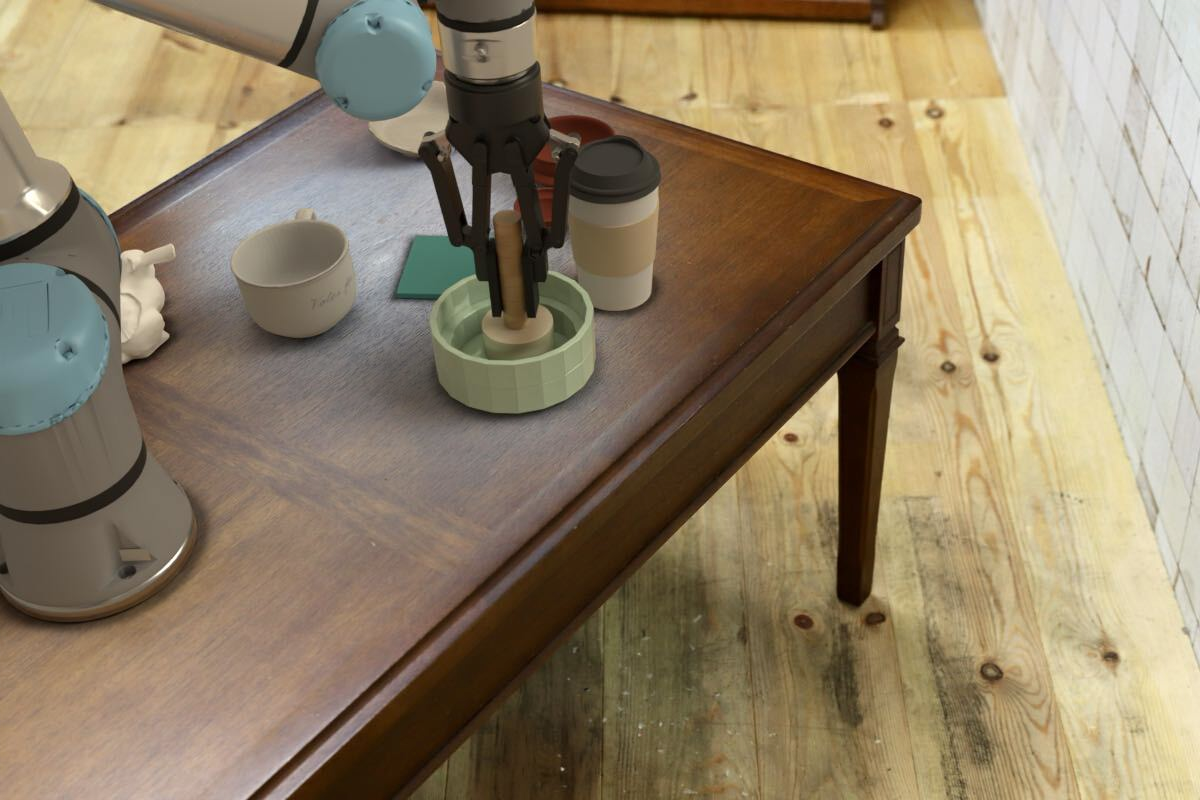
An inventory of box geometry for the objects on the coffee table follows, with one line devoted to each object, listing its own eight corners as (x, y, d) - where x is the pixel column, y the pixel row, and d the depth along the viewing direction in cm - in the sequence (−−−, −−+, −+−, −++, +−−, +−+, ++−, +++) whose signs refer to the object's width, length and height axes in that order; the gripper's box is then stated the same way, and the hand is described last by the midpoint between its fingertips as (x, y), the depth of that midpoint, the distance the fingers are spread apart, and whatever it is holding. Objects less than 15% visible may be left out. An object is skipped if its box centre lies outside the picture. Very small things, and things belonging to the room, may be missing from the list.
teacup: (339, 359, 126) (324, 287, 121) (228, 347, 128) (209, 277, 122) (387, 272, 136) (375, 202, 131) (284, 262, 138) (268, 194, 133)
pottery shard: (377, 176, 150) (370, 135, 147) (361, 129, 158) (354, 89, 155) (470, 158, 152) (465, 117, 149) (449, 113, 160) (444, 73, 157)
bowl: (424, 416, 119) (415, 362, 115) (451, 317, 130) (444, 265, 126) (587, 421, 118) (584, 366, 114) (601, 320, 129) (599, 267, 125)
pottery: (633, 150, 152) (632, 114, 149) (596, 252, 137) (594, 214, 134) (530, 143, 154) (528, 107, 151) (483, 242, 139) (479, 205, 137)
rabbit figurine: (147, 295, 135) (121, 211, 128) (217, 304, 133) (194, 220, 127) (81, 370, 126) (50, 284, 120) (155, 382, 124) (127, 295, 118)
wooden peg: (479, 369, 122) (462, 237, 113) (490, 325, 127) (475, 196, 118) (550, 371, 122) (540, 239, 113) (559, 327, 127) (549, 197, 118)
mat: (396, 298, 133) (395, 293, 132) (415, 240, 140) (415, 235, 140) (499, 300, 132) (498, 295, 131) (513, 241, 139) (512, 236, 139)
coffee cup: (639, 327, 128) (636, 187, 118) (552, 305, 131) (541, 168, 121) (677, 274, 134) (676, 138, 124) (592, 255, 137) (585, 120, 127)
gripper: (383, 86, 104) (422, 332, 120) (586, 87, 103) (599, 336, 118) (403, 41, 110) (437, 281, 125) (595, 42, 109) (606, 285, 124)
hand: (516, 307), depth 122 cm, fingers closed on wooden peg, 2 cm apart
